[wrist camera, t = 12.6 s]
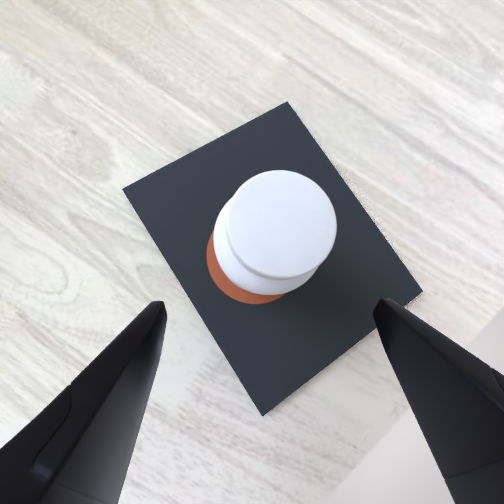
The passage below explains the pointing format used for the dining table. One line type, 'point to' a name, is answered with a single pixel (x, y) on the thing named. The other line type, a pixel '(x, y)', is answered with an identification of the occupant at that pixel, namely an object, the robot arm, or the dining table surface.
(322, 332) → the placemat
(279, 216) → the supplement bottle
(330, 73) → the dining table surface
